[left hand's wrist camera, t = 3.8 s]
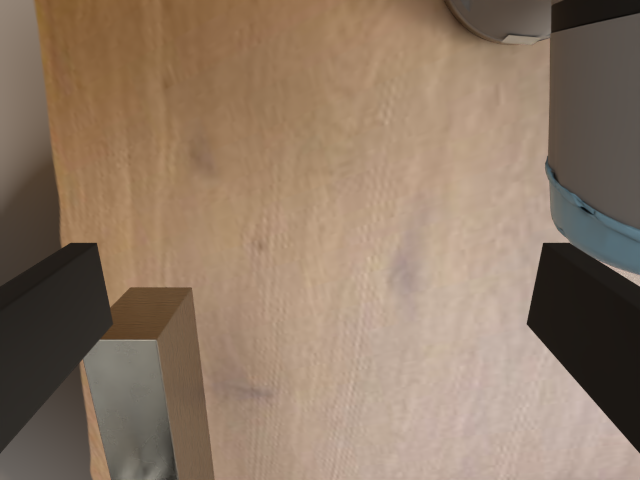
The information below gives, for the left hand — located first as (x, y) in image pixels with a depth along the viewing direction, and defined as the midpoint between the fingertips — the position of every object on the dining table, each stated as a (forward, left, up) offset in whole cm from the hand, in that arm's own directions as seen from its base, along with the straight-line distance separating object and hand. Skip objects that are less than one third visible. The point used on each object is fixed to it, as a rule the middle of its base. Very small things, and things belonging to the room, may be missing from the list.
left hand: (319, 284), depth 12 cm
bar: (+25, -8, -21) cm, 34 cm away
